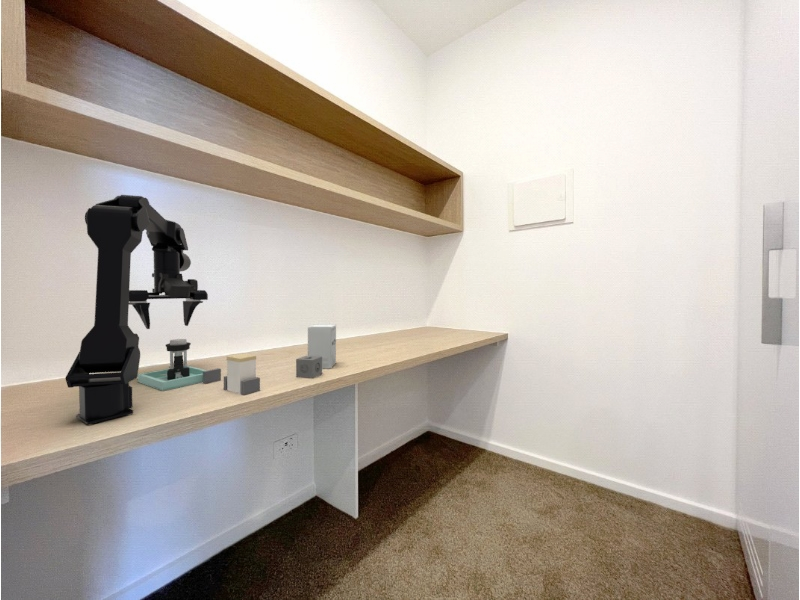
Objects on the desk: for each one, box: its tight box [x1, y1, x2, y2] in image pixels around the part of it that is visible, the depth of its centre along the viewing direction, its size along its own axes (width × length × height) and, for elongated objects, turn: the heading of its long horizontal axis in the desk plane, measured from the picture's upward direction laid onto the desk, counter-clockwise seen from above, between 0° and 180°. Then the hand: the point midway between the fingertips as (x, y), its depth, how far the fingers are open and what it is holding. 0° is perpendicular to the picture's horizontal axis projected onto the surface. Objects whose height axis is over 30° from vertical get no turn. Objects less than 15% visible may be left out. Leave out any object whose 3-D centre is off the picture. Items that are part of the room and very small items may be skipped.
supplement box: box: [307, 324, 337, 370], centre depth 102 cm, size 7×7×13 cm
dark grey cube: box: [295, 355, 323, 380], centre depth 90 cm, size 5×5×5 cm
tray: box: [137, 365, 207, 392], centre depth 84 cm, size 12×14×2 cm
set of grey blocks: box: [202, 367, 261, 396], centre depth 79 cm, size 4×17×3 cm, turn 58°
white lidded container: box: [226, 353, 257, 395], centre depth 77 cm, size 4×5×8 cm
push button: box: [159, 338, 192, 380], centre depth 84 cm, size 7×5×10 cm
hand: (168, 327), depth 89 cm, fingers open, 9 cm apart
